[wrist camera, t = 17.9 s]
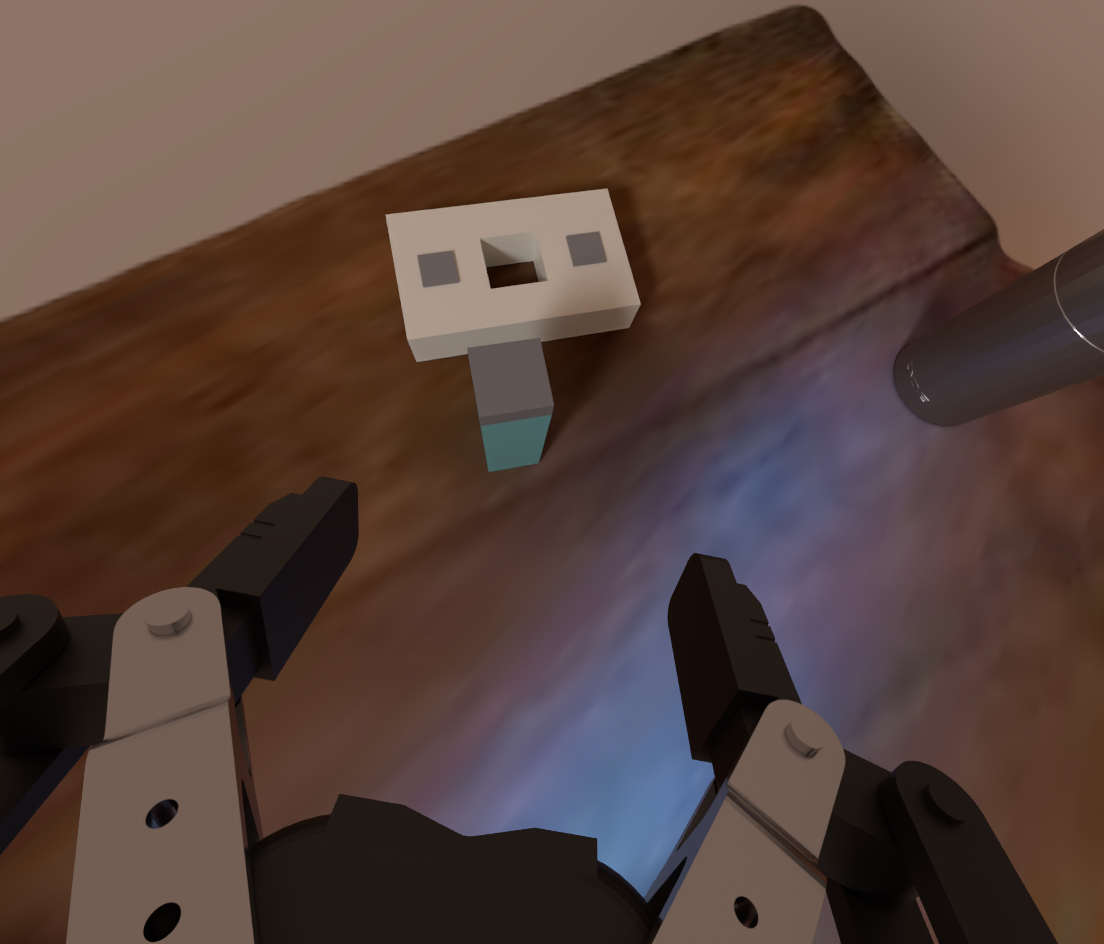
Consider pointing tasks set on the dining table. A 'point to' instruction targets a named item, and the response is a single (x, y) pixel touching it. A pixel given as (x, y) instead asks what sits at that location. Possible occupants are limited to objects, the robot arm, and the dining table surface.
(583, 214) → the block
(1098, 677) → the dining table surface
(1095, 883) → the dining table surface
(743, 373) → the dining table surface
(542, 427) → the plug
